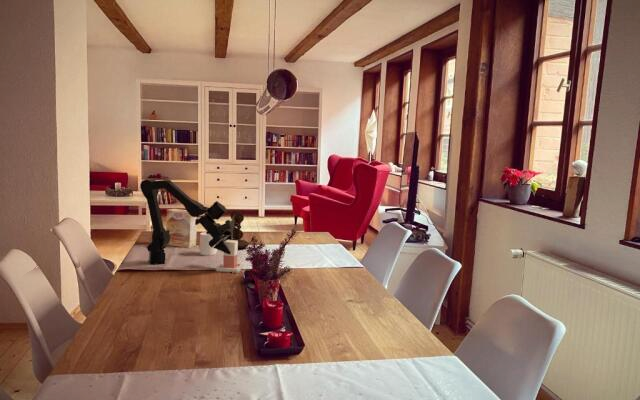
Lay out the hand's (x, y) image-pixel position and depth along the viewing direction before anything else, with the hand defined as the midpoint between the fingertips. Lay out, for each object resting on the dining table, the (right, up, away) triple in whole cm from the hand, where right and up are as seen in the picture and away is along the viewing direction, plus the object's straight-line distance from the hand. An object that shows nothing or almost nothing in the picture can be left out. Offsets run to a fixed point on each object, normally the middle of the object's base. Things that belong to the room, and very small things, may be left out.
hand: (233, 251), depth 224 cm
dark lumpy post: (-7, -3, +48) cm, 49 cm away
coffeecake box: (-37, -1, +45) cm, 58 cm away
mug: (-17, -4, +29) cm, 34 cm away
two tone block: (-2, -7, +1) cm, 8 cm away
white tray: (-2, -8, +1) cm, 9 cm away
